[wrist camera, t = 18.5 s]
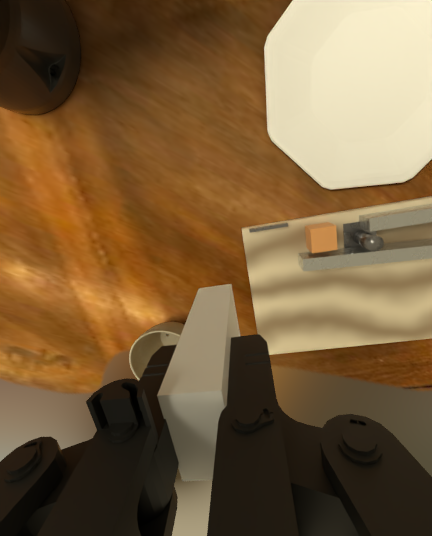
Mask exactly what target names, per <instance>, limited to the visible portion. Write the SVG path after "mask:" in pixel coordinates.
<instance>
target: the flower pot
mask: <svg viewBox="0 0 432 536" xmlns="http://www.w3.org/2000/svg"><path fill="white" fill-rule="evenodd" d="M184 326H185V325H184V324H182V323H179V322H165V323H161V324H159V325H156V326H154V327H152V328H150V329H149V330H147V331H146V332H145V333H143V334H142V335H141V336H140V337H139V338H138V339H137V340H136V341H135V342H134V344H133V345H132V347H131V350H130V354H129V362H130V367H131V369H132V371H133V373H134V375H135V376H136V378H137V379H138V380H140V378H141V377H142V374H143V372H144V370H145V368H147V364H148V362H149V360H150V358H151V356H152V355H153V354H154V353H155V352H156V351H157V350H158V349H159V348H160V347H162V346H168V345H177V343H178V341H179V338H180V336H181V333H182V331H183V328H184ZM167 335H168V336H167Z"/></svg>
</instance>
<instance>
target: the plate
mask: <svg viewBox="0 0 432 536" xmlns="http://www.w3.org/2000/svg"><path fill="white" fill-rule="evenodd" d="M264 59H265V83H266V107H267V131H268V134H269V136H270V139H271V141H272V142H273V143H274V144H275V145H277V146H278V147H279V148H280V149H281V150H282V151H283V152H284V153H285V154H286V155H287V156H289V157H290V158H291V159H292V160H293V161H294V162H295V163H296V164H297V165H298V166H300V167H301V168H302V169H303V170H304V171H305V172H306V173H307V174H308V175H309V176H310V177H312V178H313V179H314V180H315V181H316V182H317V183H318V184H319V185H320V186H321V187H324V188H327V189H330V190H332V189H343V188H353V187H363V186H373V185H383V184H393V183H403V182H405V181H407V180H409V179H411V178H413V177H414V176H415V175H416V174H417V173H418V172H419V171H420V170H421V169H422V168H423V167H424V166H425V165H426V164H427V163H428V162H429V161H430V160H431V159H432V0H293V1H292V2H291V4H290V5H289V6H288V8H287V9H286V11H285V12H284V13H283V15H282V16H281V18H280V19H279V21H278V22H277V23H276V25H275V26H274V28H273V29H272V30H271V32H270V33H269V35H268V36H267V40H266V43H265V46H264Z"/></svg>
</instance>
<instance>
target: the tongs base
mask: <svg viewBox="0 0 432 536" xmlns="http://www.w3.org/2000/svg"><path fill="white" fill-rule="evenodd" d="M429 222H432V203H431V204H425V205H419V206H413V207H407V208H400V209H394V210H388V211H382V212H376V213H370V214H364V215H359V222H353V223H346V224H343V237H344V248H349V247H358V246H363V247H365V248H366V249H368V250H370V251H373V252H375V251H379V250H380V249H381V248H382V247H383V245H384V241H383V239H382V238H381V237H379V236H377V230H384V229H390V228H397V227H403V226H410V225H416V224H423V223H429ZM281 227H288V223H280V224H274V225H268V226H262V227H256V228H250V229H249V232H250V233H251V232H257V231H263V230H269V229H275V228H281Z"/></svg>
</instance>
